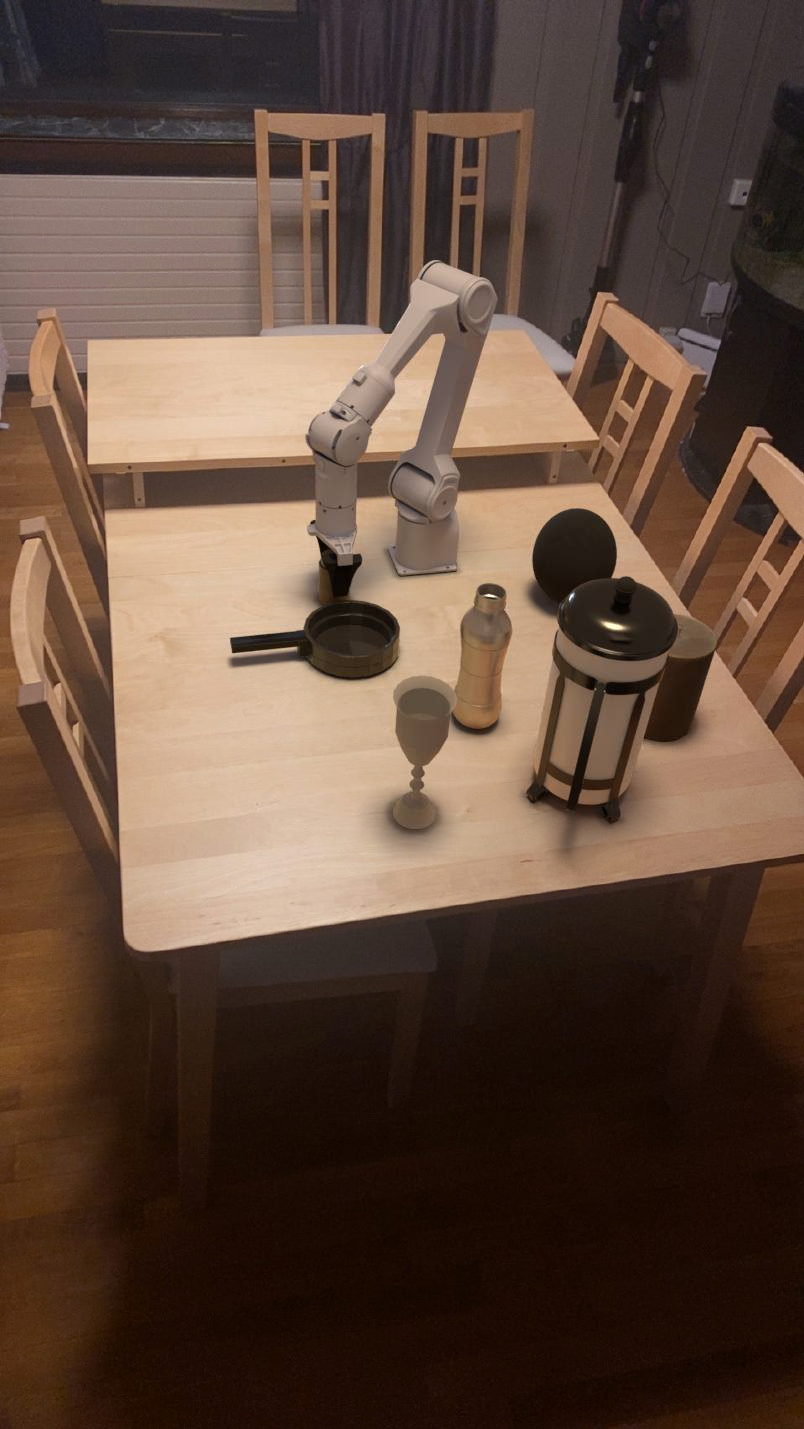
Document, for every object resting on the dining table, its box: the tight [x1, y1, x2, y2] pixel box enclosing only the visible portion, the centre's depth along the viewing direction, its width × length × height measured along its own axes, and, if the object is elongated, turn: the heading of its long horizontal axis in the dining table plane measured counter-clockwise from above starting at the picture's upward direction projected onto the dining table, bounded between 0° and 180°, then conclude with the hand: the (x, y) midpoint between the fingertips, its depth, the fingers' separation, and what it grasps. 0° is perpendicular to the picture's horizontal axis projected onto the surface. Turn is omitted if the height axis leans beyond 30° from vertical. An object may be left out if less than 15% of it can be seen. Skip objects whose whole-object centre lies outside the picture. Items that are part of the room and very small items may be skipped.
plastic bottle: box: [452, 582, 513, 730], centre depth 125 cm, size 6×7×20 cm
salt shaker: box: [318, 549, 351, 606], centre depth 147 cm, size 5×5×8 cm
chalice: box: [392, 675, 457, 830], centre depth 112 cm, size 7×7×18 cm
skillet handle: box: [229, 629, 307, 658], centre depth 137 cm, size 10×3×3 cm, turn 104°
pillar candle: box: [644, 613, 718, 742], centre depth 129 cm, size 10×10×15 cm
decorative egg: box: [531, 507, 618, 605], centre depth 148 cm, size 12×12×15 cm
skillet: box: [303, 599, 401, 678], centre depth 140 cm, size 13×13×4 cm
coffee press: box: [525, 575, 678, 822], centre depth 113 cm, size 17×16×30 cm
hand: (335, 580), depth 148 cm, fingers open, 7 cm apart
